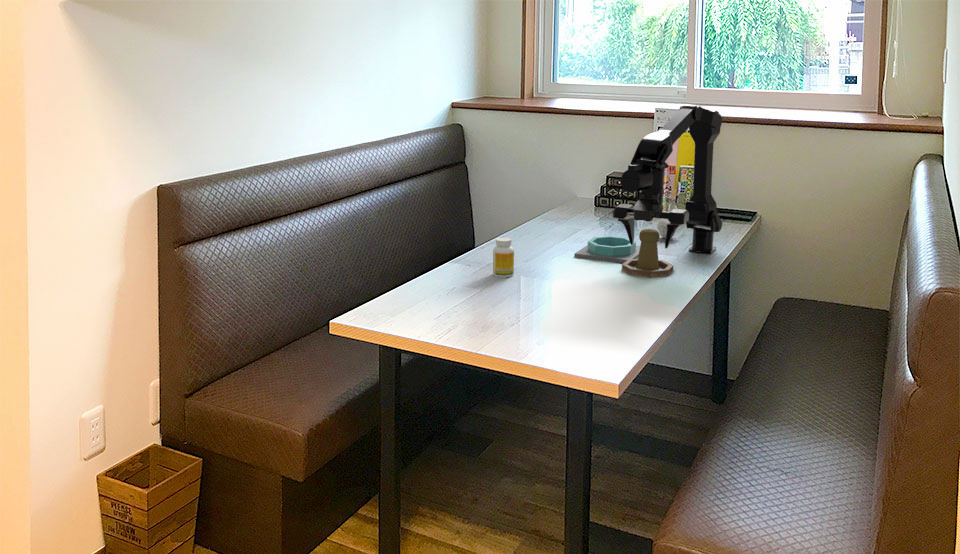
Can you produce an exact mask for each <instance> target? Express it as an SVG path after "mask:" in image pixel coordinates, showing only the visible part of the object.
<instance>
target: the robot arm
mask: <svg viewBox="0 0 960 554" xmlns="http://www.w3.org/2000/svg"><path fill="white" fill-rule="evenodd" d="M722 124H723V117H722V115H721V114H720V113H719V111H717V110H712V109H711V110H710V109H706V108H703V107H701V106H700V105H696V104H687V103H686V104H682V105H681V106H680V107H679V110H678V111H677V112H676V113H675V114H674V115H673V116H672V117H671V118H670V119H669V120H668V121H667V122H666V123H665V124H664V125H663V126H662V127H661V128H660V129H659V130H658V131H654V132H651V133H648V134H647V135H645V136H644V137H642V138H641V140H640V141H639V143H638V144H637V147H636V150H635V152H634V154H633V156H632V159H631V161H630V164H628V166H627V170H625V171H624V172H623V173H622V175H621V177H620V185H621V187H622V189H623V190H624V191H625V192H627V193H629V194H630V193H631V194H634V193H637V192H639V195H638V199H637V201H636V202H635V204H627V203H620V204H618V205H616V206H615V207H614V208H613V210H612V218H614V219H617V221H618V222H621V223H622V224H623V226H624V229H625V230H626V234H627V238H629V240H630V244H631V245H632V244H633V242H634V241H635V221H638V222H639V221H645V222H652V221H653V220H654V219H668V221H669V222H670V223H668V224H667V234H666V238H665V243H664V248H665V249H666V250H667V249H668V248H669V245H670V244H671V240H672V238H673V237H674V236H673V234H674V232H675V230H676V229H677V227H678V228H679V227H680V226H682V225H685V224H686V226H685V227H686V229H692V230H693V231H692V243H691V244H692V246H690V247H689V248H688V252H693V253H694V252H696V253H703V254H712V253H714V251H715V250H717V247H715V246H714V237H715V236H714V234H715V233H719V232H720V231H722V228H723V221H722V219H721V217H720V215H719V214H718V213H719V212H718V207H717V205H718V204H717V202H716V200H715V198H714V196H713V195H712V185H713V183H712V182H713V180H712V179H713V162H714V161H713V159H714V157H713V156H714V143H715V141H716V139H717V138H718V136H719V135H720V133H721V128H722ZM687 130H689V135H690V137H691V139H692V140H693V142H694V158H693V159H694V160H693V184H692V185H693V187H692V195H691V197H690V198H689V200H686V202H685V203H684V206H685V209H681V208H680V209H679V208H673V209H671V210H670V211H665V210H664V205H663V203H664V194H665V190H664V186H665V184H664V183H665V169H668V168H669V164H668V163H667V162H666V161H667V160H668V159H669V157H670V156H671V154H672V153H673V151H674V149H673V147H674V146H673V145H674V144H675V143H676V141H677V140H678V139H679V138H680V137H682V135H683V134H684V133H685V132H686V131H687ZM677 230H678V229H677ZM677 230H676V231H677ZM675 233H676V232H675Z"/></svg>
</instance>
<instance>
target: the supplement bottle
mask: <svg viewBox="0 0 960 554" xmlns="http://www.w3.org/2000/svg"><path fill="white" fill-rule="evenodd" d="M512 241H513V240H512V238H510V237H498V238H495V246H494V247H493V250H492V275H493V276H494V277H496V278H500V277H502V279H507V278H506V277H508V278H511V277H513V276H514V272H515V271H514V270H515V267H514V266H515V265H514V264H515V248H514V247H513V246H511V245H512V243H513V242H512Z"/></svg>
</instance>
